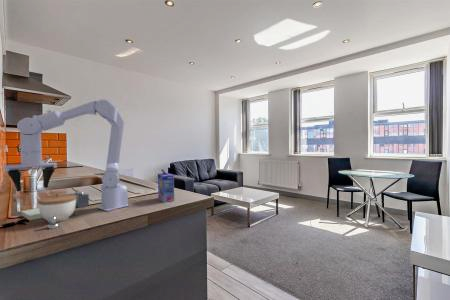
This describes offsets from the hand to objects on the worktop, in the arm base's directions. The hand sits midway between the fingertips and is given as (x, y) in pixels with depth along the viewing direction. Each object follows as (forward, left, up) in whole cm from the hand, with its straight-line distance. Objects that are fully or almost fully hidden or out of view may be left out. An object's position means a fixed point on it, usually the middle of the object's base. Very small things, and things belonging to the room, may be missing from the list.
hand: (32, 189), depth 80 cm
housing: (-16, -3, -10) cm, 19 cm away
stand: (-1, -1, -10) cm, 10 cm away
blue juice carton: (-44, +20, -10) cm, 50 cm away
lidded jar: (-4, +11, -10) cm, 16 cm away
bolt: (0, +18, -10) cm, 21 cm away
